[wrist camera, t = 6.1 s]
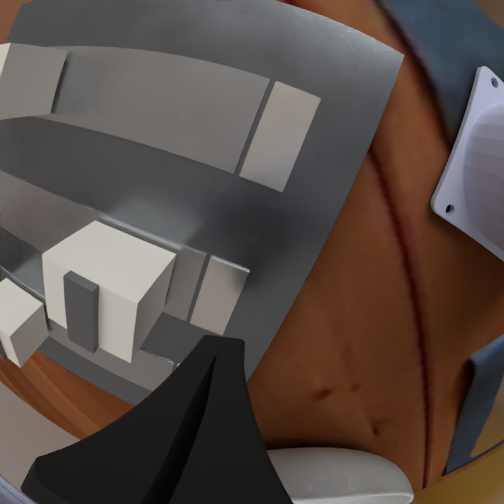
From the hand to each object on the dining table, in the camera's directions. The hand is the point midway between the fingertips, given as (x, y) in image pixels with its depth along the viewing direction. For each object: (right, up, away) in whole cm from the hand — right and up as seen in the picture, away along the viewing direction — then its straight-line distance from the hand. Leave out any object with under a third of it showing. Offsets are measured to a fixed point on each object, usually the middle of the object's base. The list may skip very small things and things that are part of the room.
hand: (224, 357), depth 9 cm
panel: (-7, +5, +4) cm, 9 cm away
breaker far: (-14, 0, +5) cm, 15 cm away
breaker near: (-9, +12, -1) cm, 15 cm away
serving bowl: (+6, -17, +13) cm, 22 cm away
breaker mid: (-4, +3, +2) cm, 6 cm away
